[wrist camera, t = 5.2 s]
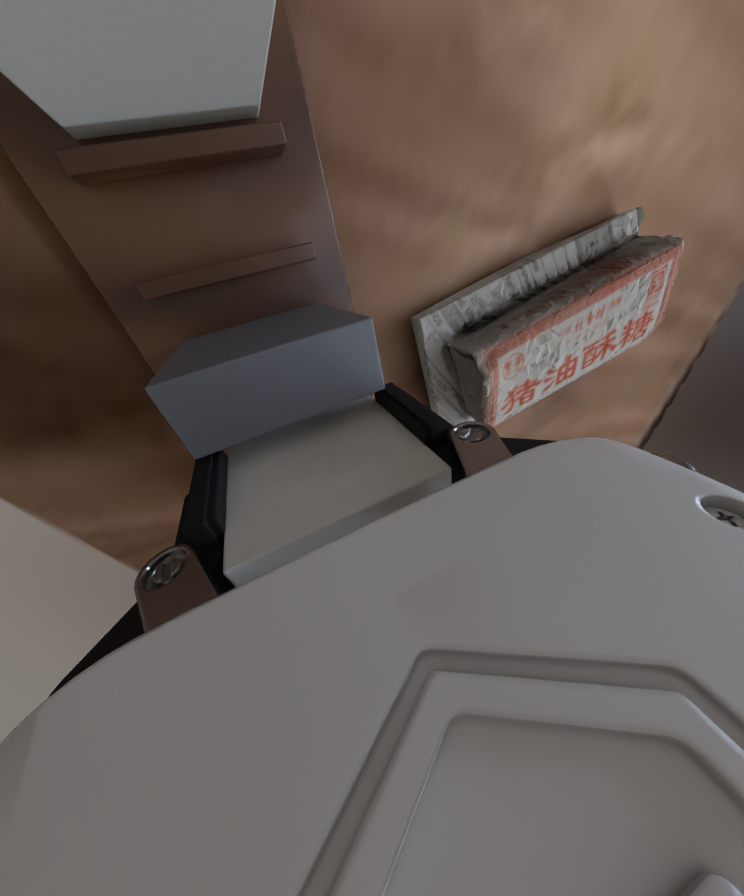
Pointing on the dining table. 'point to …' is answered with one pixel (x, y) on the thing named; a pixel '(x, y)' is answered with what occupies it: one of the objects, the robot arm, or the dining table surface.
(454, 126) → the dining table surface
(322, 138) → the dining table surface
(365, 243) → the dining table surface
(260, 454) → the white book
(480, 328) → the packaged product
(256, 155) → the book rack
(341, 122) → the dining table surface
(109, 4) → the white book
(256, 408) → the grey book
